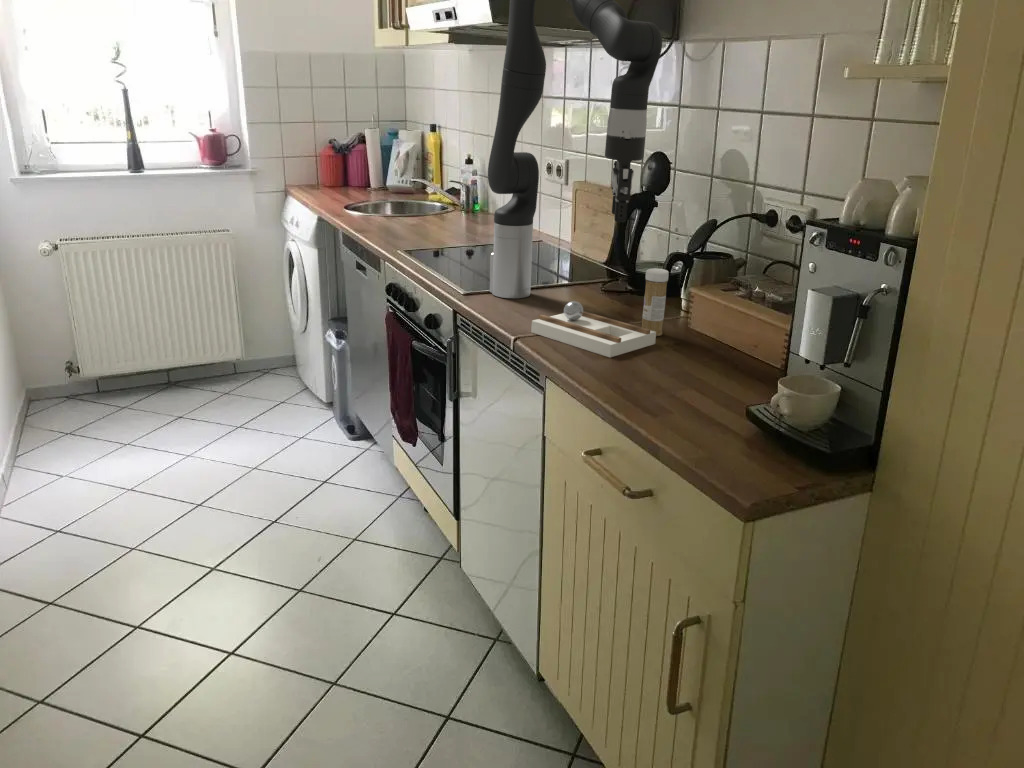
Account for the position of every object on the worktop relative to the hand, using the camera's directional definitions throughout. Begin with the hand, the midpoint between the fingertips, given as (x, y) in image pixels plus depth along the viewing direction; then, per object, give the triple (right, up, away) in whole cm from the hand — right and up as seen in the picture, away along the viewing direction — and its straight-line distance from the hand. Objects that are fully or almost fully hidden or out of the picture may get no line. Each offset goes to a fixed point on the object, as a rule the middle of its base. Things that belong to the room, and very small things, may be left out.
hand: (618, 218), depth 162 cm
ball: (-9, -18, +4) cm, 21 cm away
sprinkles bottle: (+8, -23, +6) cm, 25 cm away
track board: (-5, -24, +2) cm, 25 cm away
